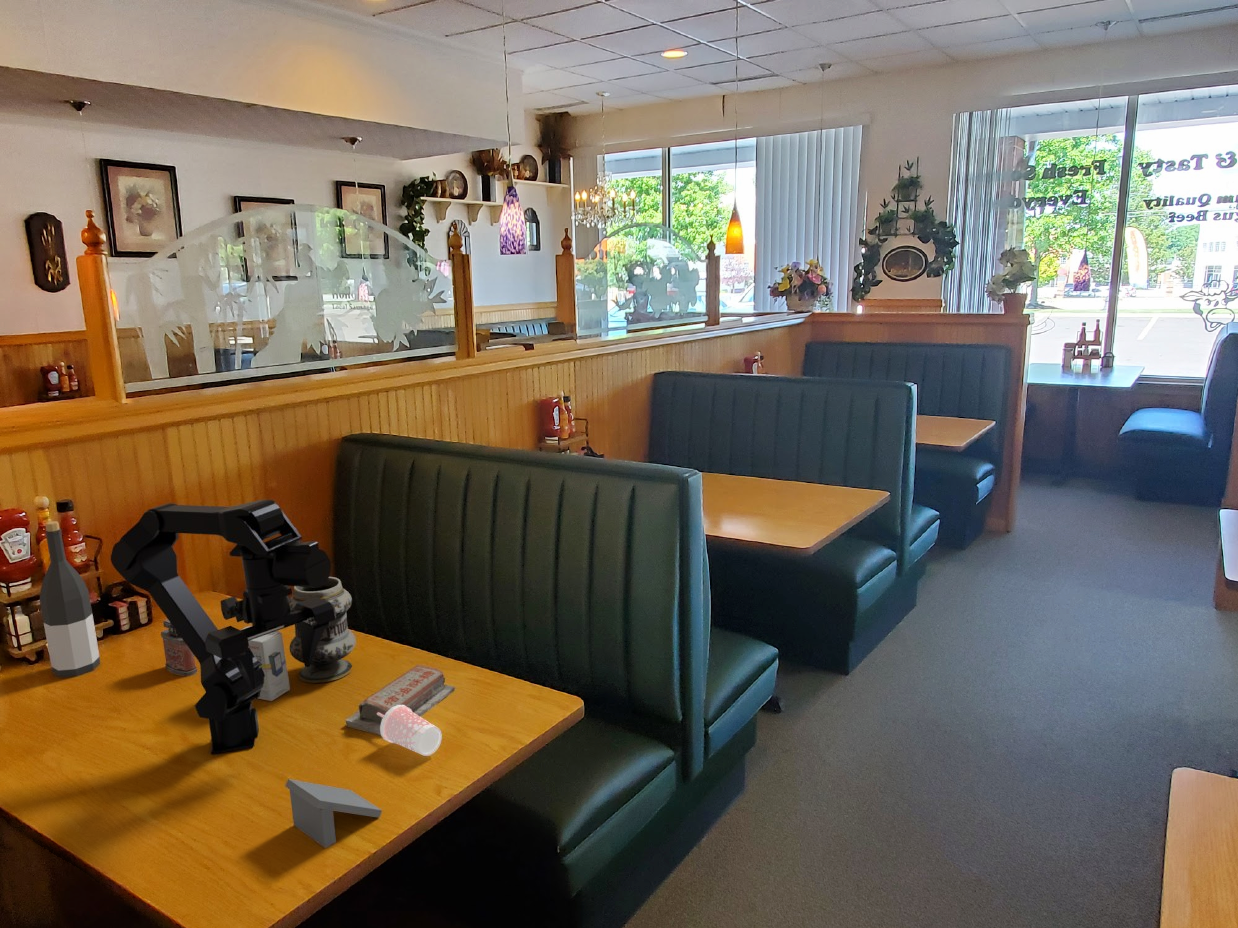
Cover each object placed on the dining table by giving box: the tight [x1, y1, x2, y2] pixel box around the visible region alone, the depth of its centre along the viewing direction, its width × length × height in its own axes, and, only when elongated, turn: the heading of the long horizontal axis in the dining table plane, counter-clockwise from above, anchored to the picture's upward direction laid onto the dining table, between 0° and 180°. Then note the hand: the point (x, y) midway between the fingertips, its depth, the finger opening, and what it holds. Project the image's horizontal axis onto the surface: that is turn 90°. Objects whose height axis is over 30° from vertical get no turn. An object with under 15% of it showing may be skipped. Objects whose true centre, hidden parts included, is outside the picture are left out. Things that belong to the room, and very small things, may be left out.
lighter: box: [160, 619, 198, 677], centre depth 168 cm, size 8×3×10 cm, turn 58°
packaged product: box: [344, 664, 456, 736], centre depth 151 cm, size 18×5×10 cm
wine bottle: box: [39, 521, 101, 678], centre depth 167 cm, size 8×8×30 cm
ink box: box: [240, 625, 291, 702], centre depth 157 cm, size 9×5×12 cm, turn 68°
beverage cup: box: [377, 705, 443, 757], centre depth 139 cm, size 6×6×14 cm
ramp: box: [284, 778, 383, 849], centre depth 120 cm, size 10×8×7 cm
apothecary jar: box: [289, 576, 357, 684], centre depth 165 cm, size 12×12×18 cm
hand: (280, 677), depth 136 cm, fingers open, 9 cm apart
